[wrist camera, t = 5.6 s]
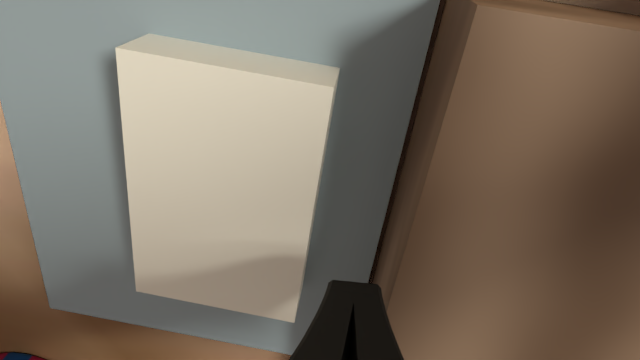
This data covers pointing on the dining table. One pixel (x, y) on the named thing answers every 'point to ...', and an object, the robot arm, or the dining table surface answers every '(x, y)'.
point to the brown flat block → (520, 189)
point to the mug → (18, 356)
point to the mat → (108, 149)
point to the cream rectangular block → (222, 170)
